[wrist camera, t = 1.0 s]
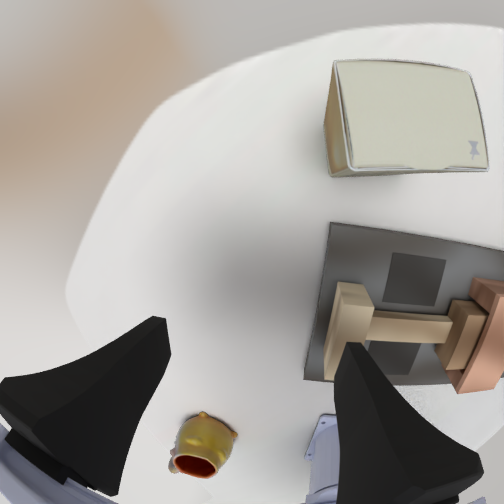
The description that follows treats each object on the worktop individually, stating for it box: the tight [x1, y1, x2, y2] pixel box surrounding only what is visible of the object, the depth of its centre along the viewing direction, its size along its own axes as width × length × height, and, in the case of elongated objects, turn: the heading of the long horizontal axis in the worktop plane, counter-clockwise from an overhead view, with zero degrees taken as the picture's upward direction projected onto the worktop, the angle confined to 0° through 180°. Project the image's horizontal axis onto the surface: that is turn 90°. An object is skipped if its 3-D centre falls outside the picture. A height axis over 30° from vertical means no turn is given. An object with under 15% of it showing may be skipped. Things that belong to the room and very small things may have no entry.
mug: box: [168, 412, 238, 479], centre depth 27 cm, size 12×7×7 cm, turn 138°
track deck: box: [303, 222, 504, 394], centre depth 17 cm, size 14×32×6 cm, turn 86°
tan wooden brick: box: [323, 282, 490, 380], centre depth 17 cm, size 6×20×4 cm, turn 86°
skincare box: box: [324, 59, 489, 177], centre depth 13 cm, size 6×4×12 cm
